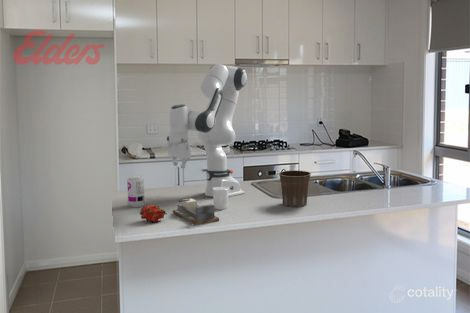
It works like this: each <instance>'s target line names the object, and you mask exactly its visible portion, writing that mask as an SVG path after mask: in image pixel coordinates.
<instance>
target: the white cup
mask: <svg viewBox="0 0 470 313" xmlns="http://www.w3.org/2000/svg"><path fill="white" fill-rule="evenodd" d="M228 196H229V188H228V187H215V188H213V205H214V210H219V211H220V210H227V209H229V197H230V196H229V197H228Z"/></svg>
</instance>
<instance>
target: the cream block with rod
mask: <svg viewBox="0 0 470 313" xmlns="http://www.w3.org/2000/svg"><path fill="white" fill-rule="evenodd" d="M178 202H179V203H181V206H183V207H185V208H187V209H189V210H191V211H193V212H196V206H197V205H198V201H197V200H196V199H194V198H186V199H181V200H178Z"/></svg>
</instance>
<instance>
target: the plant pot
mask: <svg viewBox="0 0 470 313" xmlns="http://www.w3.org/2000/svg"><path fill="white" fill-rule="evenodd" d="M311 175H312V173H311V172H310V171H305V170H295V169H294V170H284V171H280V172H278V176H279V182H280V186H281V187H280V188H281V197H282V198H281V199H282V205H283V204H284V205H283V206H285V205H287V206H286V207H290V206H294V207H297V206H302V207H304V205H305V206H306V205H307V204H308V196H309V194H308V193H309V185H310V184H309V182H310V179H311Z"/></svg>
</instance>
